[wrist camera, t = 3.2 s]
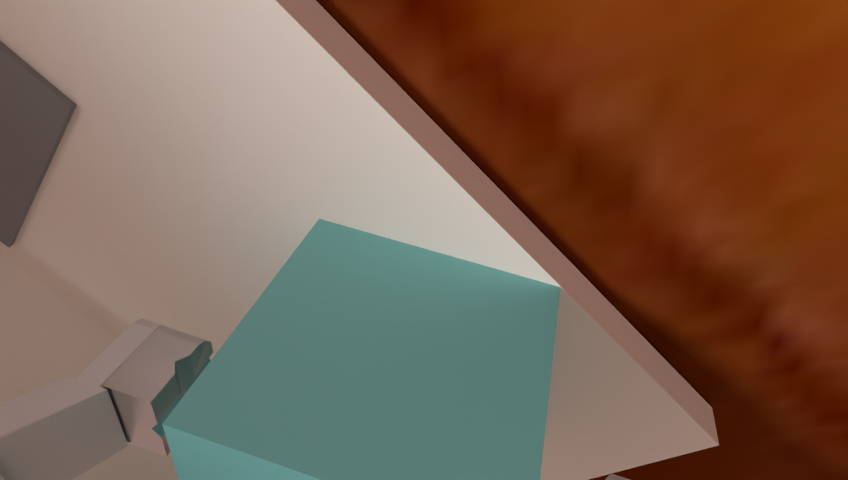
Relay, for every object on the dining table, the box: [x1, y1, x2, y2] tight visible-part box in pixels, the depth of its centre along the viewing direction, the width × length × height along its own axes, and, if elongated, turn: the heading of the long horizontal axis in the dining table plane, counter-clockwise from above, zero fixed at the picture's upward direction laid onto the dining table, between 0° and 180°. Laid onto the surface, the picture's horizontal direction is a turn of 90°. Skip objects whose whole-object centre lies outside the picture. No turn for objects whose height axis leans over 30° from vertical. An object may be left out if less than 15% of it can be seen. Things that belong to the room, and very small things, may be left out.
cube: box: [162, 219, 560, 480], centre depth 10 cm, size 5×5×5 cm
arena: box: [0, 0, 719, 480], centre depth 11 cm, size 24×13×5 cm, turn 47°
